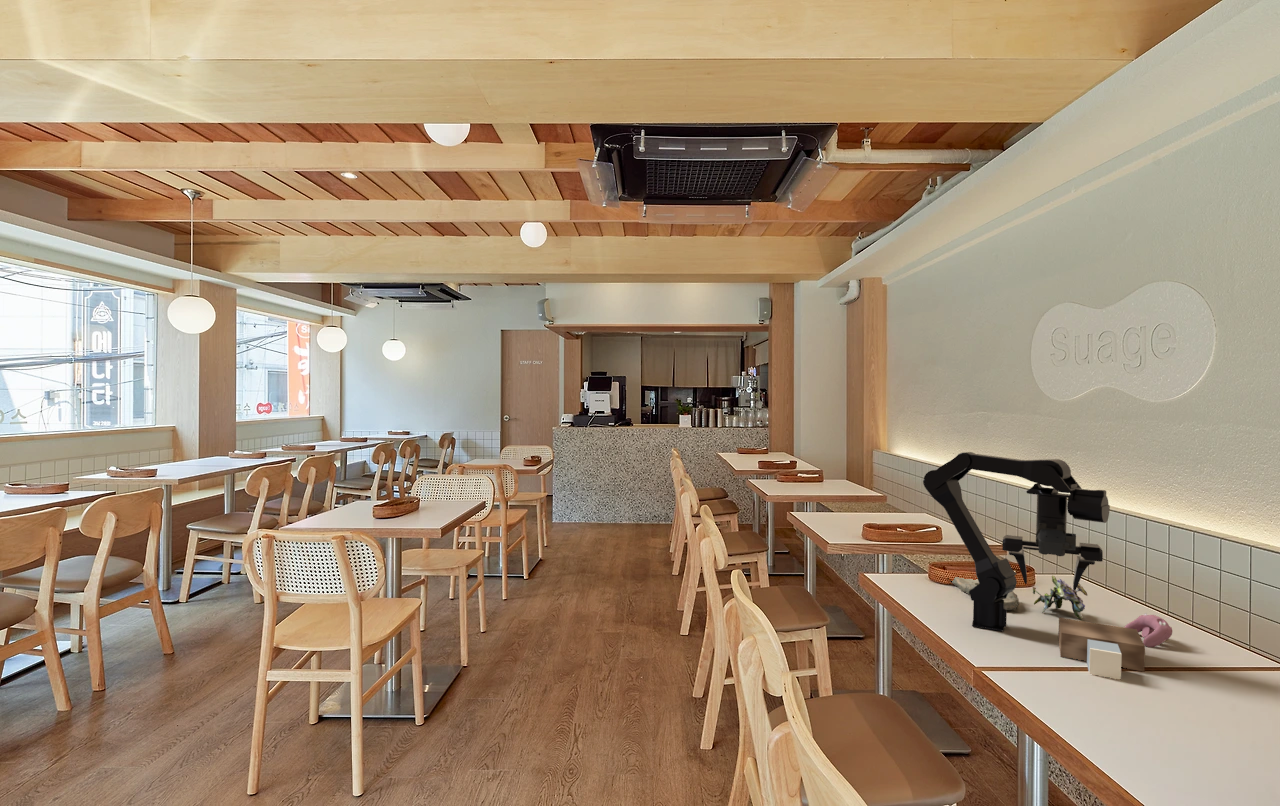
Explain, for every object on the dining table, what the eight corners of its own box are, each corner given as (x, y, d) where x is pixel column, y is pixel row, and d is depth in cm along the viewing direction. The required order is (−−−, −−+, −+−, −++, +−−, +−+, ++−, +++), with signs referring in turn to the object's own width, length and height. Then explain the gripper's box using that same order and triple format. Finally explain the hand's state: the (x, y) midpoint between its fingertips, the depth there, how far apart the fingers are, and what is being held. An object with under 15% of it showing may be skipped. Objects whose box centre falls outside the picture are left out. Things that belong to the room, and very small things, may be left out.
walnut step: (1060, 656, 140) (1061, 632, 140) (1058, 640, 151) (1058, 617, 151) (1144, 671, 134) (1145, 646, 134) (1135, 652, 144) (1136, 629, 144)
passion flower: (1077, 640, 167) (1096, 609, 160) (1029, 626, 171) (1045, 596, 164) (1071, 604, 176) (1090, 574, 169) (1025, 592, 179) (1041, 562, 172)
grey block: (1086, 663, 137) (1089, 674, 131) (1087, 639, 137) (1090, 648, 131) (1117, 669, 135) (1120, 680, 129) (1117, 644, 135) (1121, 654, 129)
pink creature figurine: (1164, 656, 147) (1181, 628, 146) (1143, 645, 148) (1160, 617, 147) (1139, 640, 157) (1155, 614, 156) (1120, 630, 157) (1136, 604, 157)
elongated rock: (971, 583, 205) (937, 583, 206) (970, 565, 206) (936, 565, 206) (1031, 612, 170) (990, 612, 171) (1030, 591, 171) (989, 591, 171)
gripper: (1002, 516, 148) (1000, 588, 148) (1106, 526, 139) (1104, 602, 139) (1004, 510, 157) (1002, 577, 157) (1100, 518, 148) (1099, 590, 148)
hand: (1049, 586), depth 150 cm, fingers open, 9 cm apart
